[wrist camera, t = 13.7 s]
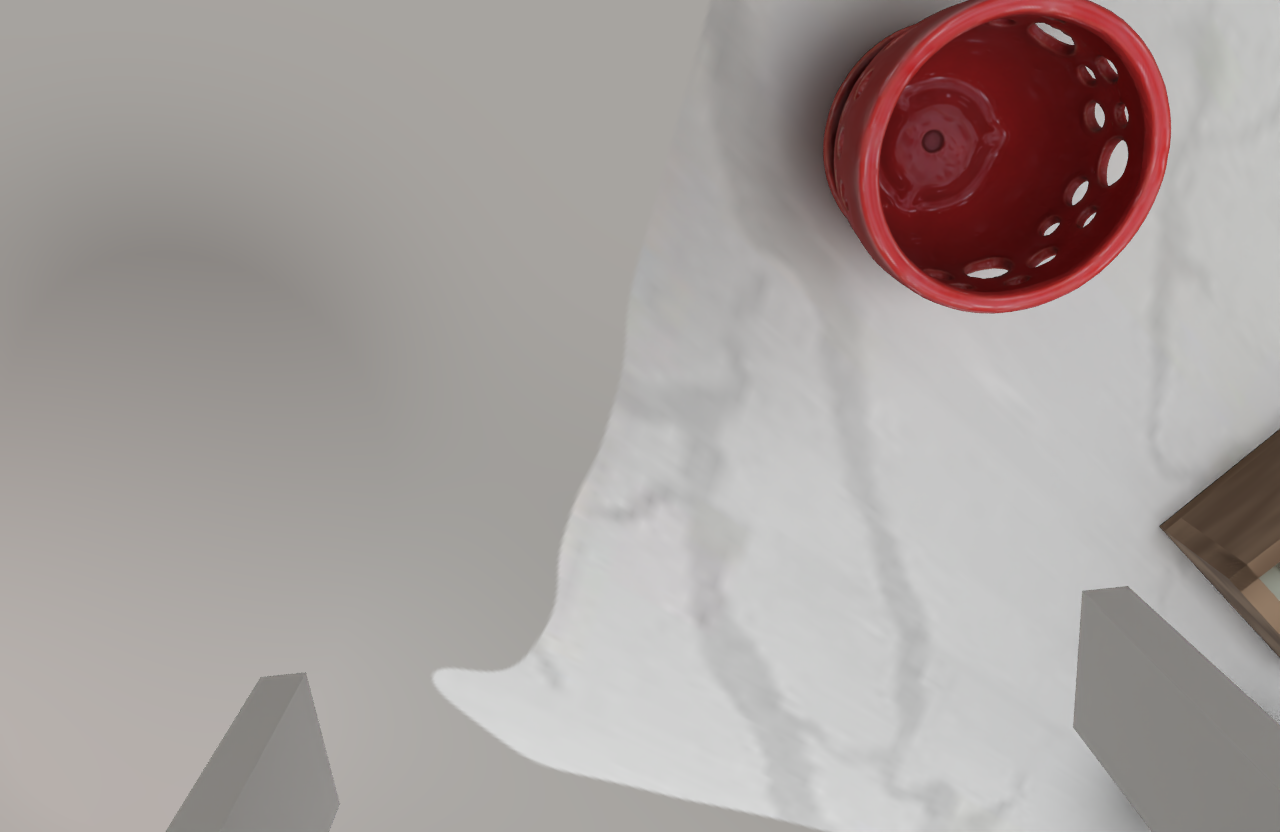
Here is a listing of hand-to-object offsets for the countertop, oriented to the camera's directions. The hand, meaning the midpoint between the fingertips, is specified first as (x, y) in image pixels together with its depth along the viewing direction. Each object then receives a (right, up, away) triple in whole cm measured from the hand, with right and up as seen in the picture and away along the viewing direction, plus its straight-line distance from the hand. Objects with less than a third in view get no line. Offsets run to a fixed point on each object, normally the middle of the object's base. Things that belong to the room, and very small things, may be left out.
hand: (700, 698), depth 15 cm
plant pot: (+14, +19, +33) cm, 41 cm away
